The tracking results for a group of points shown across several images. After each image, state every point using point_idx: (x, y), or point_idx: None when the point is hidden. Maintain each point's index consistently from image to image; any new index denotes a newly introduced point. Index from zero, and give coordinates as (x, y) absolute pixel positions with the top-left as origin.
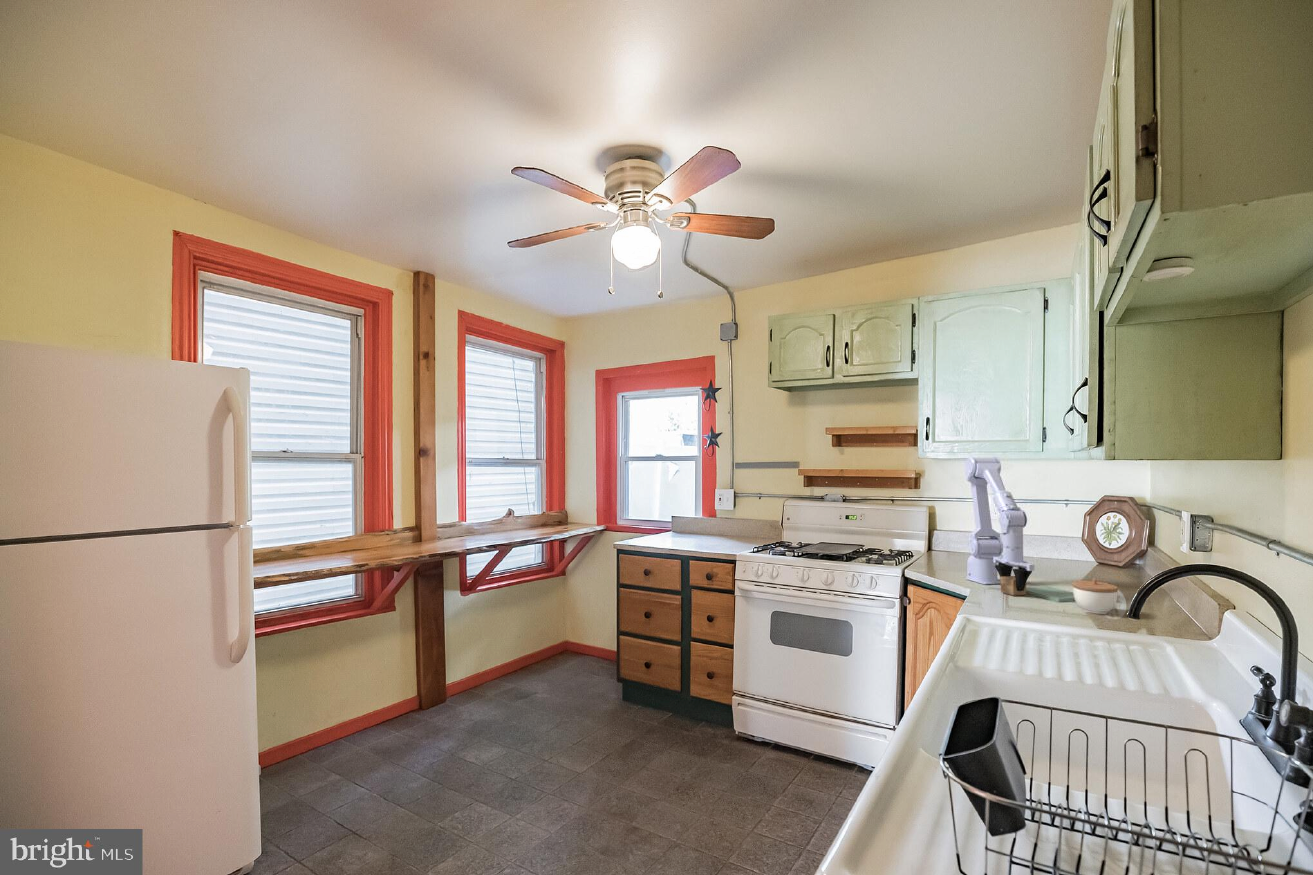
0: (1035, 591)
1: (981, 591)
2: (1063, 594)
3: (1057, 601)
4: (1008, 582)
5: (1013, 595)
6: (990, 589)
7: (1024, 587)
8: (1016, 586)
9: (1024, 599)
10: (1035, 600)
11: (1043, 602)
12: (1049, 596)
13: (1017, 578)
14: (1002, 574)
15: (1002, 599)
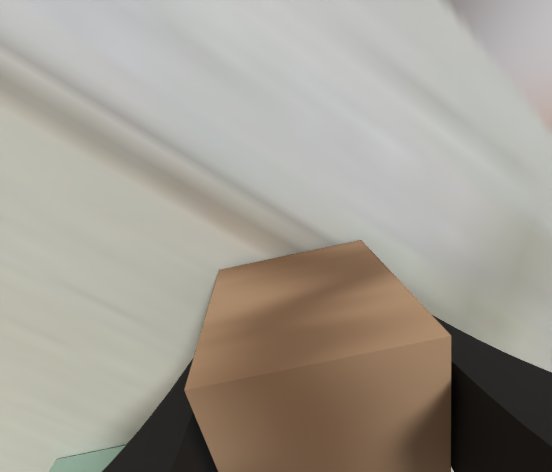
0: None
1: (443, 66)
2: None
3: (63, 459)
4: (280, 328)
5: (219, 271)
6: (490, 218)
7: None
8: None
9: (109, 294)
10: (85, 354)
11: (24, 373)
12: None
13: (132, 460)
14: (482, 398)
15: (72, 78)
